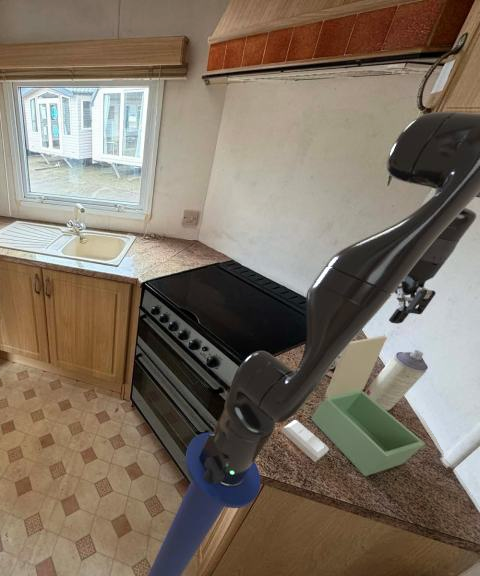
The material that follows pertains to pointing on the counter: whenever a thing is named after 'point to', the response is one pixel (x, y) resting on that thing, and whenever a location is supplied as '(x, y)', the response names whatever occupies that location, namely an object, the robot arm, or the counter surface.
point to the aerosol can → (397, 378)
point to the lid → (355, 366)
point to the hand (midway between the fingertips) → (382, 311)
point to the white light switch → (305, 440)
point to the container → (365, 432)
